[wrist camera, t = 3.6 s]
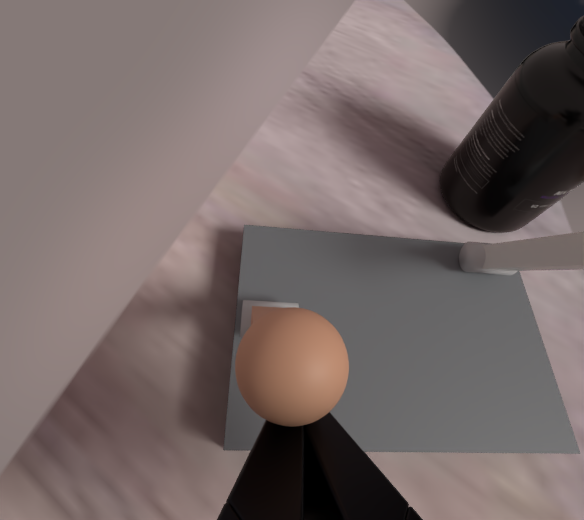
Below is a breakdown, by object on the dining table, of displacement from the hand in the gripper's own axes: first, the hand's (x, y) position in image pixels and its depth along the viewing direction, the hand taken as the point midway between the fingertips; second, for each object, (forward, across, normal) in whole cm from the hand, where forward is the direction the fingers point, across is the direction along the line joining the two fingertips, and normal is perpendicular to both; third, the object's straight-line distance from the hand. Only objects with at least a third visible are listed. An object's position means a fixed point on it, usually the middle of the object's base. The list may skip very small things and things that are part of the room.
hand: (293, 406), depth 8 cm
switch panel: (+9, -6, +3) cm, 11 cm away
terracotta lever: (+7, 0, +1) cm, 7 cm away
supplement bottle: (+17, -14, -5) cm, 23 cm away
